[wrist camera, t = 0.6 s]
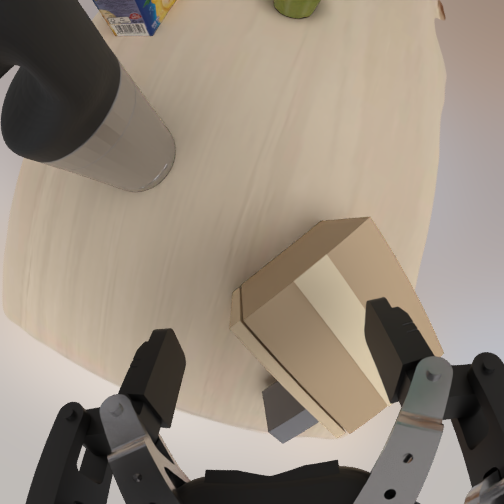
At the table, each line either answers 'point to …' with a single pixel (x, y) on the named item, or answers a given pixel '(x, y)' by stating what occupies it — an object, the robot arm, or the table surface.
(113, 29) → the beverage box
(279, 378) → the front flap
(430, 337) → the carton
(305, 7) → the plant pot
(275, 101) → the table surface
